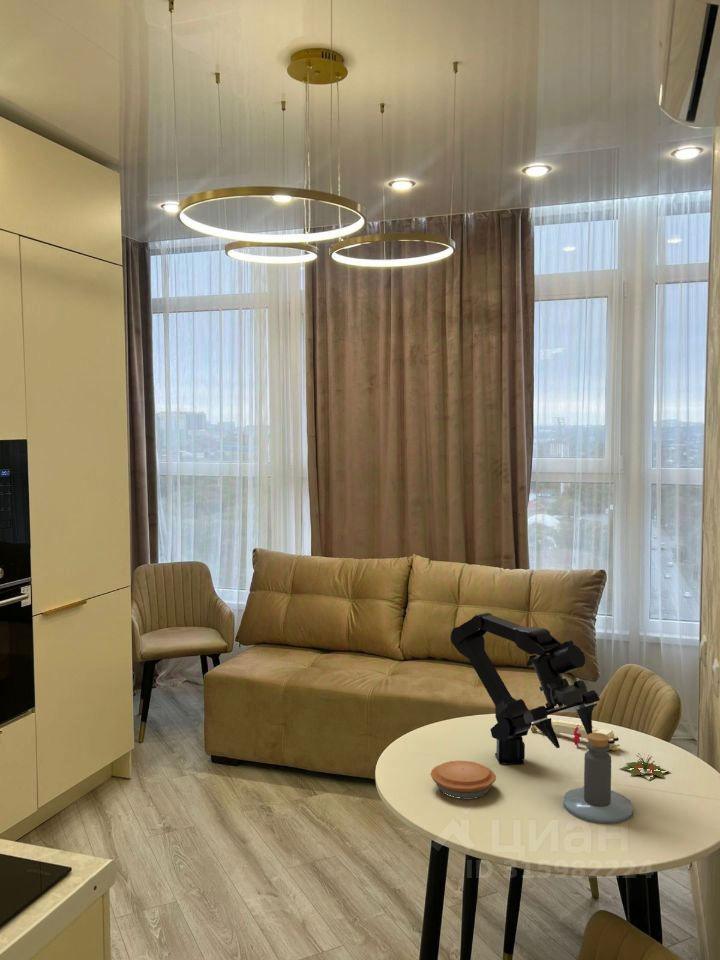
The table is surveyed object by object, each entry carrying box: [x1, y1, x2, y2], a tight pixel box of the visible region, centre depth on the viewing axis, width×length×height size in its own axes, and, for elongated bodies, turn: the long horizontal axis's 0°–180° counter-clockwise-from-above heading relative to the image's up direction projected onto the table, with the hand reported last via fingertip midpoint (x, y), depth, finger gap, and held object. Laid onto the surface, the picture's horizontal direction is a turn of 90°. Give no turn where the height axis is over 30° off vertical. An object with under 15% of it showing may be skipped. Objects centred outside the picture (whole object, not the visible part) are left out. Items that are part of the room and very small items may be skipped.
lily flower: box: [619, 752, 671, 782], centre depth 201 cm, size 12×12×5 cm
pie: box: [429, 760, 497, 799], centre depth 191 cm, size 15×16×5 cm
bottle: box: [583, 733, 612, 807], centre depth 180 cm, size 6×6×15 cm
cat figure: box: [530, 704, 621, 751], centre depth 222 cm, size 10×9×25 cm
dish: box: [563, 786, 634, 824], centre depth 181 cm, size 15×15×2 cm
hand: (574, 742), depth 191 cm, fingers open, 9 cm apart
